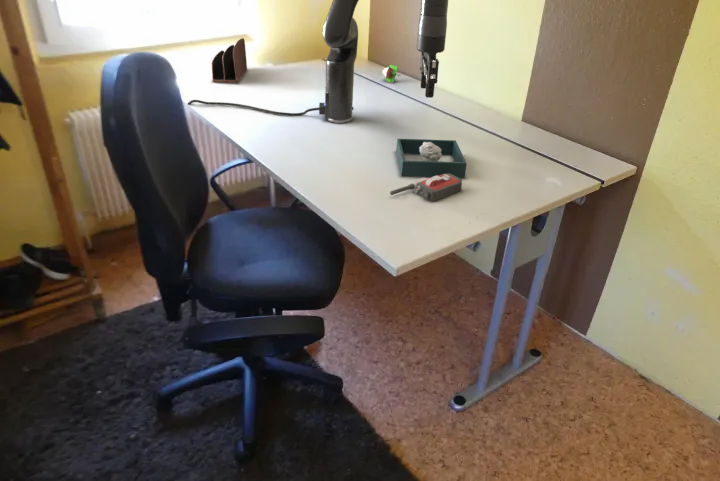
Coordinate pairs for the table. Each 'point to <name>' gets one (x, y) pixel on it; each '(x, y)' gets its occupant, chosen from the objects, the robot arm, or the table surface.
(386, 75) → the geometric puzzle
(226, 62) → the letter holder
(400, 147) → the open box
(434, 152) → the white rounded figurine
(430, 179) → the walkie-talkie
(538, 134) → the table surface
